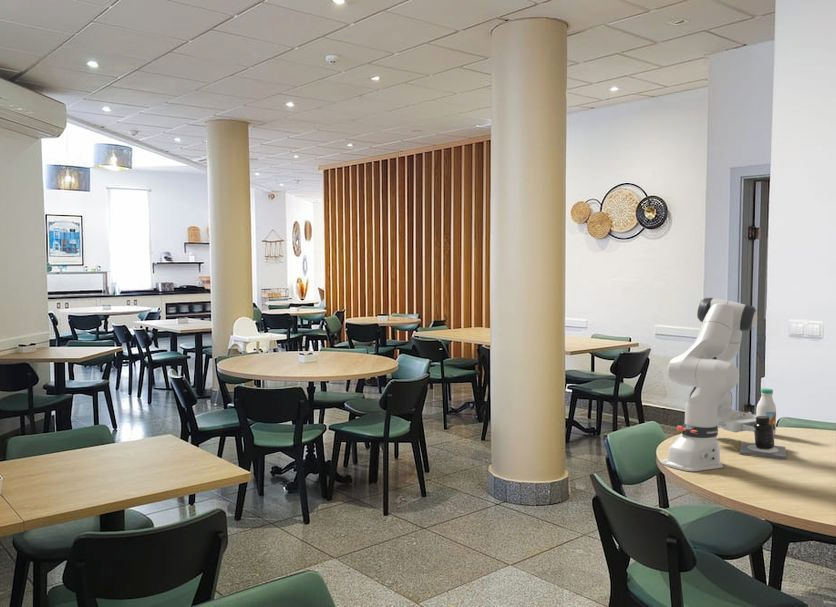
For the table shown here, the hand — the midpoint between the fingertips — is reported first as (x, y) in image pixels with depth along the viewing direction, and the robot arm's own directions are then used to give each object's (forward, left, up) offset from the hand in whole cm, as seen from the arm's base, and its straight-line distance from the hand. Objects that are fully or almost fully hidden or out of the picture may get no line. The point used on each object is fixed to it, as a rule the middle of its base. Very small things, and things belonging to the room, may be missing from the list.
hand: (763, 428), depth 273 cm
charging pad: (0, 0, -9) cm, 9 cm away
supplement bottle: (+1, 0, -8) cm, 8 cm away
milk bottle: (+28, +16, -10) cm, 33 cm away
